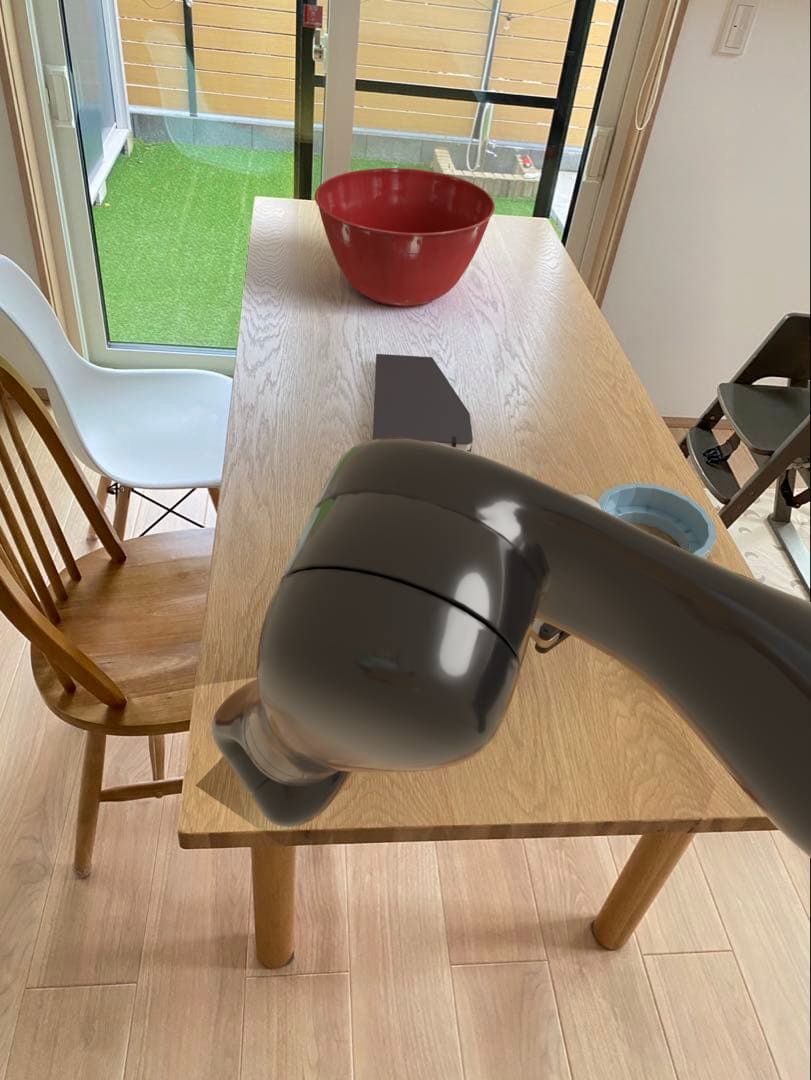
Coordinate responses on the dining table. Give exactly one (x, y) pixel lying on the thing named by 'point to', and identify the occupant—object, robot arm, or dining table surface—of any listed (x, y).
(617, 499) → the light-blue faceted ring
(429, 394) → the notebook
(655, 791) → the dining table surface
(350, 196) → the mixing bowl
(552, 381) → the dining table surface
